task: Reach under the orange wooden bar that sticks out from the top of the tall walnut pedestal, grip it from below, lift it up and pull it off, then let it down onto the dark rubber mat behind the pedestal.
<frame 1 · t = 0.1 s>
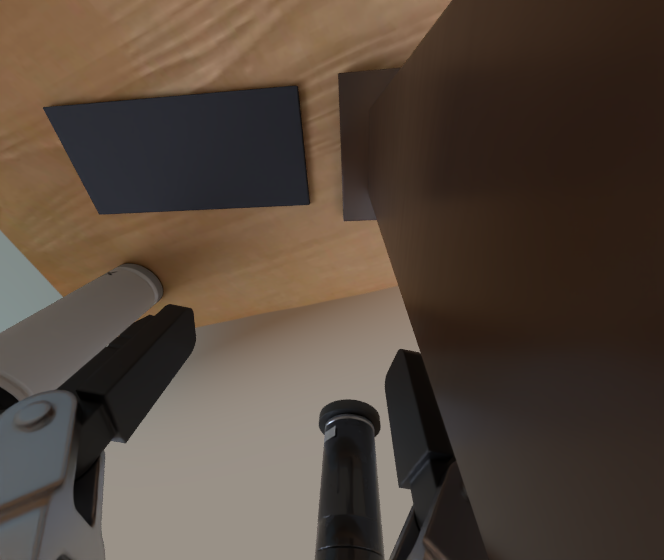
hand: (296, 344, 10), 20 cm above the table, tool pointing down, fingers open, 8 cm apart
pedestal: (404, 151, 24), on the table
mat: (187, 158, 25), on the table
travel mug: (140, 282, 33), on the table
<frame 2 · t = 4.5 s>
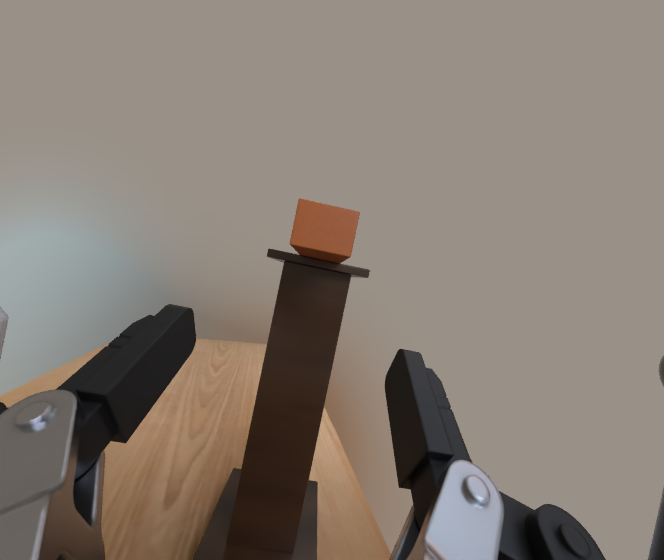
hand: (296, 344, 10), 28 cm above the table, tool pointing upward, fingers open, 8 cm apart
pedestal: (264, 529, 29), on the table
lever bar: (319, 260, 26), point 32 cm above the table, touching pedestal
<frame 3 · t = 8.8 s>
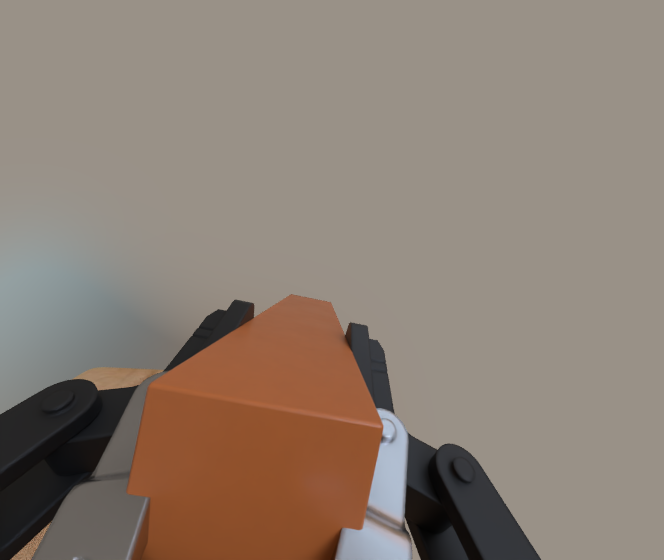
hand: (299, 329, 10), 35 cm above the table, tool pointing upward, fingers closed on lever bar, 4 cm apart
lever bar: (294, 365, 14), point 32 cm above the table, touching gripper, pedestal
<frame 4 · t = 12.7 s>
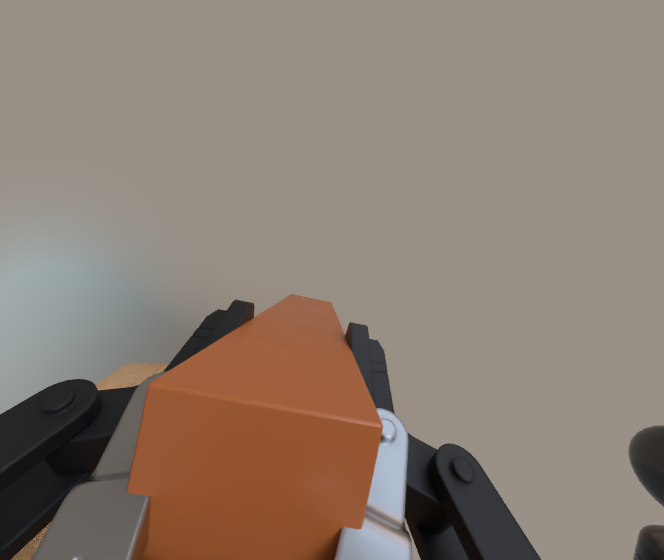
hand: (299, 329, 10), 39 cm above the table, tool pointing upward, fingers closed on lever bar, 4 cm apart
lever bar: (294, 365, 14), point 36 cm above the table, touching gripper
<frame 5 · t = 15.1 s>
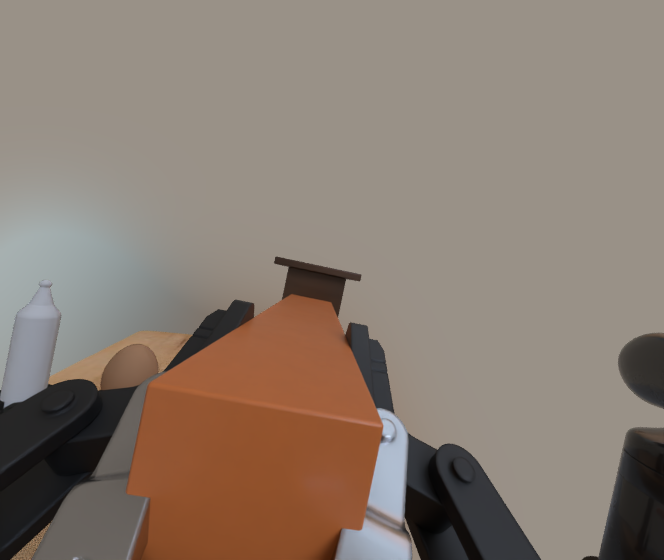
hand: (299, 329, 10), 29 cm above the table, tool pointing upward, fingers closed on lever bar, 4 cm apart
egg: (125, 404, 46), on the table
pedestal: (270, 498, 33), on the table
lever bar: (294, 365, 14), point 26 cm above the table, touching gripper
when the fingers open (23 cm above the table, at t = 17.0 s): lever bar drops 20 cm, resting on mat.
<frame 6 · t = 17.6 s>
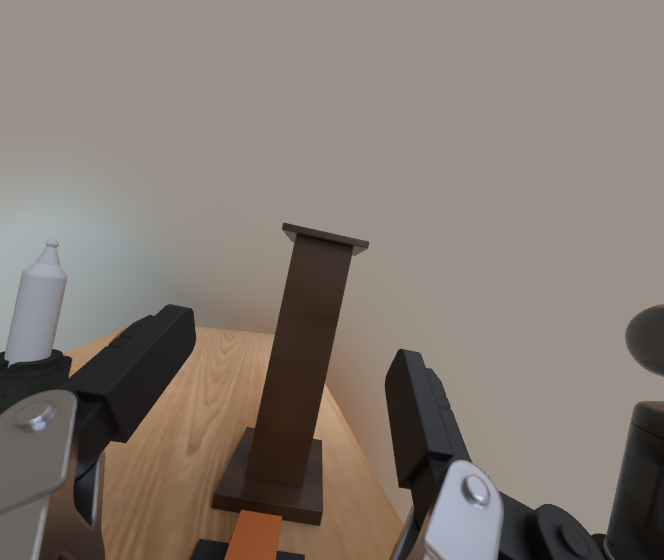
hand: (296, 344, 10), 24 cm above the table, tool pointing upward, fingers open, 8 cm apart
pedestal: (275, 473, 33), on the table
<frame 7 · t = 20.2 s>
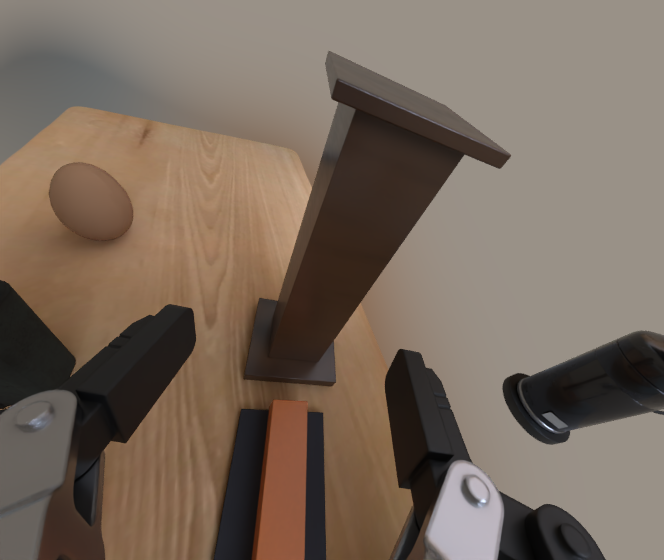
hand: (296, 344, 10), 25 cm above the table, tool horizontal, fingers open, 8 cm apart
egg: (106, 235, 39), on the table
pedestal: (292, 342, 37), on the table
mat: (271, 556, 23), on the table
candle: (37, 379, 25), on the table
lever bar: (277, 521, 24), point 1 cm above the table, touching mat
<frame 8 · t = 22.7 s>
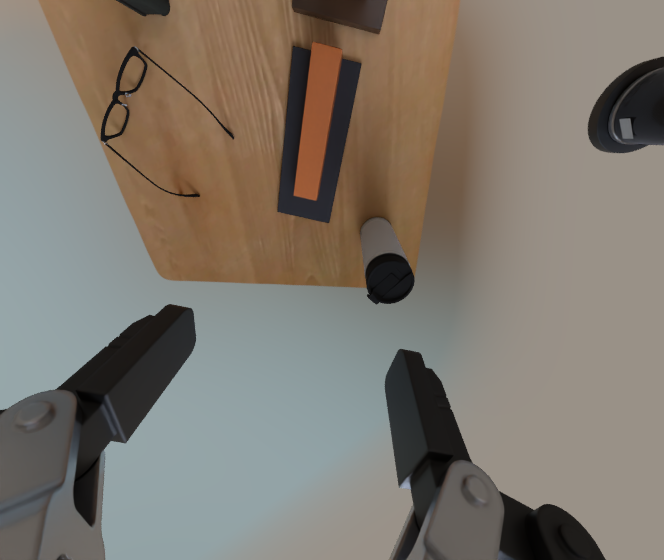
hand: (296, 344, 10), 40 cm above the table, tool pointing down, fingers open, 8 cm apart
mat: (314, 147, 42), on the table
eyeglasses: (176, 135, 42), on the table
lever bar: (316, 132, 40), point 1 cm above the table, touching mat
travel mug: (375, 232, 49), on the table
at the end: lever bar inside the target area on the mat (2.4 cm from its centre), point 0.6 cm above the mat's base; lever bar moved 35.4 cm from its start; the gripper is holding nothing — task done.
